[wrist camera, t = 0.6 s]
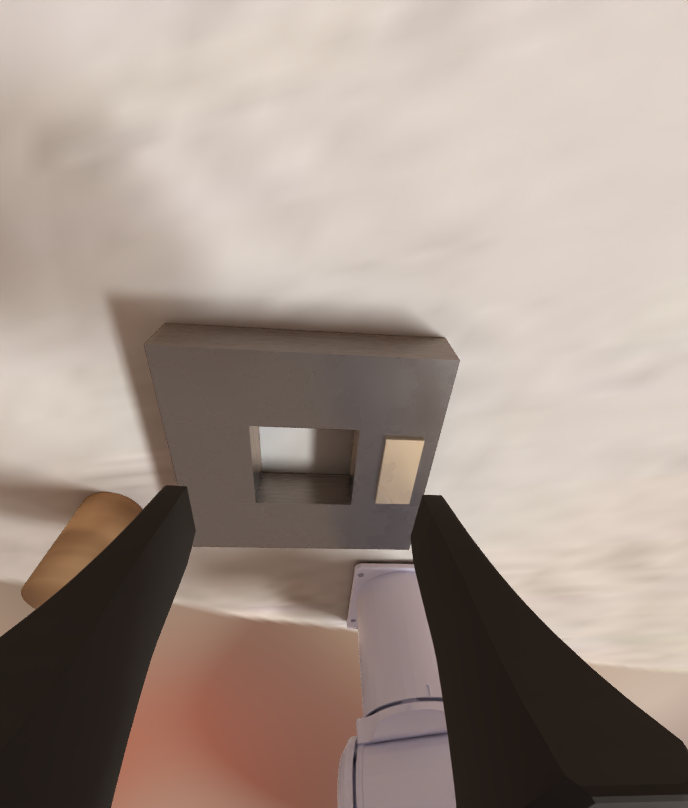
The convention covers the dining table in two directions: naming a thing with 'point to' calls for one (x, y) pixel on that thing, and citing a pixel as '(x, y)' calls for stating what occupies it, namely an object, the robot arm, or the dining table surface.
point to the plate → (300, 408)
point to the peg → (80, 543)
